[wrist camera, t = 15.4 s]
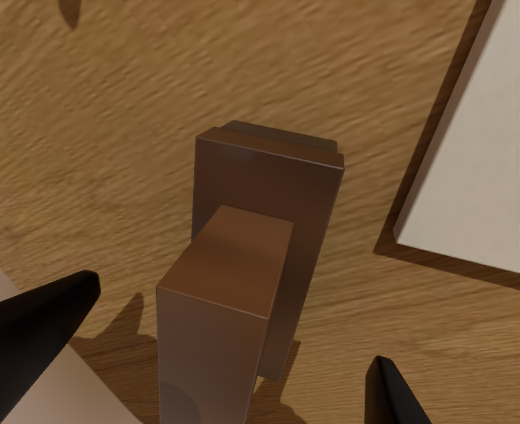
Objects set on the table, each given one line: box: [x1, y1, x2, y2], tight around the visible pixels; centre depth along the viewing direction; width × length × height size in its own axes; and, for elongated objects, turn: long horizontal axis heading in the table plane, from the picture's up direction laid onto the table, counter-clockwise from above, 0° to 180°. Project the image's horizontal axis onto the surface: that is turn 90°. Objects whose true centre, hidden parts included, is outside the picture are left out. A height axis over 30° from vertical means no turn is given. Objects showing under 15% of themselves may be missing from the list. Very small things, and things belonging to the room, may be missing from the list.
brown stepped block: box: [156, 120, 345, 424], centre depth 10 cm, size 10×4×7 cm, turn 171°
